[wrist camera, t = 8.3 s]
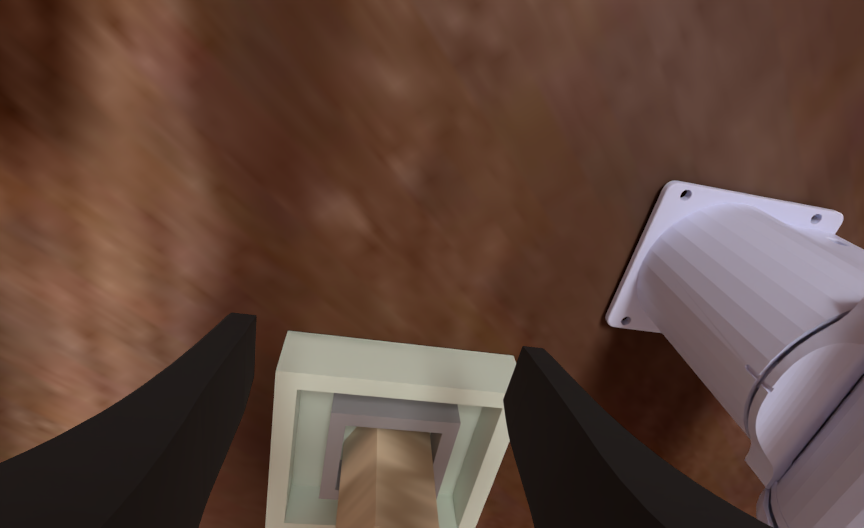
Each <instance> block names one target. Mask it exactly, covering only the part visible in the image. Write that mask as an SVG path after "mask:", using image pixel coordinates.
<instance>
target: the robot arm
mask: <svg viewBox="0 0 864 528" xmlns="http://www.w3.org/2000/svg"><path fill="white" fill-rule="evenodd" d="M685 190H687V193H686V194H685V196H683V197H681V198H680V195H681V193H682V192H683V191H685ZM814 215H815V217H814V218H813V219H812V220H811V218H812V217H813V216H814ZM842 222H843V215H842V214H841V213H839V212H837V211H835V210H831V209H826V208H821V207H815V206H810V205H805V204H799V203H794V202H789V201H783V200H778V199H773V198H767V197H762V196H757V195H751V194H746V193H741V192H735V191H730V190H725V189H719V188H714V187H709V186H703V185H698V184H693V183H687V182H682V181H670V182H668V183H667V184H666V185H665V186H664V187H663V189H662V191H661V193H660V195H659V198H658V200H657V202H656V204H655V206H654V209H653V211H652V213H651V215H650V218H649V220H648V222H647V224H646V226H645V229H644V231H643V233H642V235H641V238H640V240H639V242H638V244H637V247H636V249H635V251H634V253H633V255H632V258H631V260H630V262H629V264H628V267H627V269H626V271H625V273H624V275H623V278H622V280H621V282H620V284H619V287H618V289H617V291H616V293H615V295H614V298H613V300H612V302H611V304H610V307H609V309H608V311H607V313H606V316H605V319H606V321H607V323H608V324H609V325H610V326H612V327H617V328H625V329H633V330H641V331H649V332H657V333H662V334H663V335H664V336H665V337H666V338H667V340H668V341H669V342H670V343H671V344H672V346H673V347H674V348H675V349H676V350H677V352H678V353H679V354H680V355H681V357H682V358H683V359H684V360H685V361H686V363H687V364H688V365H689V366H690V367H691V369H692V370H693V371H694V372H695V373H696V375H697V376H698V377H699V378H700V379H701V381H702V382H703V383H704V384H705V386H706V387H707V388H708V389H709V390H710V392H711V393H712V394H713V395H714V396H715V398H716V399H717V400H718V401H719V402H720V404H721V405H722V406H723V407H724V408H725V410H726V411H727V412H728V413H729V415H730V416H731V417H732V418H733V419H734V421H735V422H736V423H737V424H738V425H739V427H740V428H741V429H742V430H743V431H744V433H745V434H746V435H747V436H748V437H749V439H750V440H751V448H750V450H749V452H748V454H747V456H746V457H745V461H746V462H747V464H748V465H749V466H750V468H751V469H752V470H753V471H754V473H755V474H756V475H757V477H758V478H759V479H760V480H761V482H762V483H763V484H764V486H765V487H766V488H765V489H764V490H763V491H762V493H761V494H760V496H759V499H758V502H757V507H756V516H757V519H756V518H754V517H752V516H750V515H748V514H747V513H745V512H743V511H741V510H740V509H738V508H736V507H735V506H733V505H731V504H730V503H728V502H726V501H725V500H723V499H721V498H720V497H718V496H716V495H715V494H713V493H712V492H710V491H708V490H707V489H705V488H704V487H702V486H701V485H699V484H697V483H696V482H694V481H693V480H692V479H690V478H689V477H687V476H686V475H684V474H683V473H681V472H680V471H679V470H677V469H676V468H674V467H673V466H671V465H670V464H669V463H667V462H666V461H665V460H663V459H662V458H660V457H659V456H658V455H657V454H655V453H654V452H653V451H652V450H650V449H649V448H648V447H647V446H645V445H644V444H643V443H641V442H640V441H639V440H638V439H636V438H635V437H634V436H633V435H632V434H631V433H629V432H628V431H627V430H626V429H625V428H624V427H623V426H621V425H620V424H619V423H618V422H617V421H616V420H615V419H614V418H613V417H612V416H610V415H609V414H608V413H607V412H606V411H605V410H604V409H603V408H602V407H601V406H600V405H599V404H598V403H597V402H596V401H595V400H594V399H593V398H592V397H591V396H590V395H589V394H588V393H587V392H586V391H585V390H584V389H583V388H582V387H581V386H580V385H579V384H578V383H577V382H576V381H575V380H574V379H573V378H572V377H571V376H570V375H569V374H568V373H567V372H566V371H565V370H564V369H563V368H562V367H561V366H560V365H559V363H558V362H557V361H556V360H555V359H554V358H553V357H552V356H551V355H550V354H549V353H547V352H546V351H545V350H544V349H543V348H535V347H526V346H523V347H522V349H521V352H520V355H519V358H518V360H517V363H516V366H515V369H514V371H513V374H512V377H511V380H510V382H509V385H508V388H507V391H506V393H505V396H504V399H503V404H504V411H505V418H506V424H507V430H508V435H509V439H510V443H511V446H512V450H513V453H514V457H515V460H516V464H517V467H518V470H519V474H520V477H521V480H522V484H523V487H524V491H525V494H526V497H527V501H528V504H529V507H530V511H531V515H532V519H533V523H534V527H535V528H864V250H863V249H861V248H860V247H858V246H856V245H854V244H852V243H850V242H848V241H846V240H844V239H842V238H840V237H839V236H837V235H835V233H836V231H837V230H838V228H839V227H840V225H841V224H842ZM625 317H627V318H626V319H625V320H623V321H621V320H622V319H623V318H625ZM255 340H256V315H248V314H239V313H230V314H229V315H227V316H226V317H225V318H224V319H223V320H222V321H221V322H220V323H219V324H218V325H216V326H215V327H214V328H213V329H212V330H211V331H210V332H209V333H208V334H207V335H205V336H204V337H203V338H202V339H201V340H200V341H199V342H197V343H196V344H195V345H194V346H193V347H192V348H190V349H189V350H188V351H187V352H185V353H184V354H183V355H182V356H181V357H179V358H178V359H177V360H176V361H175V362H173V363H172V364H171V365H170V366H168V367H167V368H165V369H164V370H163V371H161V372H160V373H159V374H157V375H156V376H155V377H153V378H152V379H151V380H149V381H148V382H147V383H145V384H144V385H143V386H141V387H140V388H138V389H137V390H135V391H134V392H132V393H131V394H129V395H128V396H126V397H125V398H123V399H122V400H120V401H119V402H117V403H115V404H114V405H112V406H111V407H109V408H107V409H106V410H104V411H103V412H101V413H99V414H97V415H96V416H94V417H92V418H90V419H88V420H86V421H85V422H83V423H81V424H79V425H77V426H75V427H73V428H72V429H70V430H68V431H66V432H64V433H62V434H61V435H59V436H57V437H55V438H53V439H51V440H49V441H47V442H45V443H43V444H40V445H38V446H36V447H34V448H32V449H30V450H28V451H26V452H24V453H21V454H19V455H17V456H15V457H13V458H10V459H8V460H6V461H4V462H1V463H0V528H198V527H199V524H200V521H201V518H202V515H203V511H204V509H205V506H206V503H207V501H208V498H209V495H210V492H211V490H212V488H213V485H214V483H215V481H216V478H217V476H218V473H219V471H220V469H221V466H222V464H223V461H224V459H225V457H226V454H227V452H228V450H229V447H230V445H231V442H232V440H233V438H234V435H235V433H236V430H237V428H238V426H239V423H240V421H241V418H242V416H243V413H244V411H245V407H246V404H247V400H248V397H249V393H250V389H251V386H252V382H253V379H254V365H255Z"/></svg>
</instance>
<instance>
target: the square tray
mask: <svg viewBox="0 0 864 528" xmlns="http://www.w3.org/2000/svg"><path fill="white" fill-rule="evenodd" d="M515 366H516V362H515V359H514V356H511V355H502V354H493V353H484V352H475V351H466V350H457V349H449V348H440V347H431V346H422V345H413V344H404V343H395V342H386V341H377V340H368V339H359V338H350V337H341V336H332V335H323V334H314V333H305V332H296V331H288V332H287V335H286V339H285V342H284V345H283V349H282V352H281V355H280V358H279V362H278V365H277V368H276V375H275V390H274V405H273V420H272V435H271V450H270V464H269V479H268V494H267V509H266V524H265V528H335V527H336V517H337V507H338V497H339V487H340V476H341V466H342V456H343V446H344V441H345V440H346V438H347V437H348V436H349V435H350V434H351V433H352V432H353V431H354V429H355V428H356V427H369V428H382V429H394V430H406V431H419V432H430V440H431V450H432V460H433V470H434V480H435V491H436V501H437V511H438V521H439V528H475V527H476V524H477V522H478V519H479V517H480V514H481V512H482V509H483V507H484V504H485V502H486V499H487V497H488V494H489V492H490V489H491V486H492V484H493V481H494V479H495V476H496V474H497V471H498V469H499V466H500V464H501V461H502V459H503V456H504V454H505V451H506V449H507V446H508V443H509V441H510V439H509V435H508V430H507V424H506V418H505V411H504V404H503V399H504V396H505V393H506V391H507V388H508V385H509V382H510V380H511V377H512V374H513V371H514V369H515Z"/></svg>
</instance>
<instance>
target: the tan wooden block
mask: <svg viewBox="0 0 864 528" xmlns="http://www.w3.org/2000/svg"><path fill="white" fill-rule="evenodd" d="M335 528H439V521H438V511H437V501H436V491H435V480H434V470H433V460H432V450H431V440H430V432H419V431H406V430H394V429H382V428H369V427H356V428H355V429H354V431H353V432H352V433H351V434H350V435H349V436H348V437H347V438H346V440H345V441H344V446H343V456H342V466H341V476H340V487H339V497H338V507H337V517H336V527H335Z"/></svg>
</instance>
